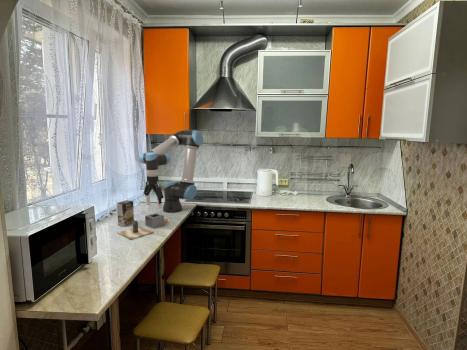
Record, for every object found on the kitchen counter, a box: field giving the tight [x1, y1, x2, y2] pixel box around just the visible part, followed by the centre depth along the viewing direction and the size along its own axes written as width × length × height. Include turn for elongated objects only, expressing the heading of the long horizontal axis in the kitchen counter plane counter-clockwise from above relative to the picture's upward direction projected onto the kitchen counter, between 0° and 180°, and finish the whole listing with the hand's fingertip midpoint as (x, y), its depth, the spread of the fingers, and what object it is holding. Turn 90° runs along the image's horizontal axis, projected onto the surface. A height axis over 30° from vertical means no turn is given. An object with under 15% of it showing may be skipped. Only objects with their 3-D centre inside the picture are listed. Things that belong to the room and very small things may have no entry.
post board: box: [117, 220, 154, 241], centre depth 203 cm, size 16×16×8 cm
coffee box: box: [116, 200, 135, 227], centre depth 220 cm, size 9×6×16 cm
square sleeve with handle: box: [144, 212, 169, 230], centre depth 220 cm, size 14×9×7 cm, turn 137°
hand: (153, 206), depth 216 cm, fingers open, 13 cm apart
